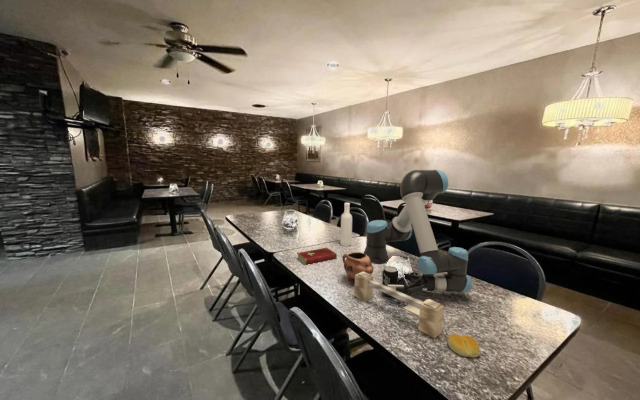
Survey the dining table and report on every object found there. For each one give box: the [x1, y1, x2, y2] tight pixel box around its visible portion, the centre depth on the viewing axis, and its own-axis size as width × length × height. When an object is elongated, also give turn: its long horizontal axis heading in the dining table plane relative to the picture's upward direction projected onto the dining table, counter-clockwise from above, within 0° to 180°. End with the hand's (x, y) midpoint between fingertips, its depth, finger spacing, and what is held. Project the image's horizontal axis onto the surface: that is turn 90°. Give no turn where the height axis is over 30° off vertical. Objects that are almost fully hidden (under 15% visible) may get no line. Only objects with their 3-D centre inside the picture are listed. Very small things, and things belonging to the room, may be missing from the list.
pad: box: [403, 298, 425, 317], centre depth 104 cm, size 11×11×1 cm
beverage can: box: [381, 265, 399, 298], centre depth 115 cm, size 7×7×12 cm
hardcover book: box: [296, 247, 338, 266], centre depth 156 cm, size 12×21×4 cm, turn 119°
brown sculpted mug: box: [342, 251, 375, 286], centre depth 127 cm, size 20×12×14 cm, turn 43°
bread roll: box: [447, 333, 481, 359], centre depth 83 cm, size 8×9×4 cm
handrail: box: [353, 271, 445, 339], centre depth 101 cm, size 36×5×11 cm, turn 41°
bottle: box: [340, 202, 353, 247], centre depth 180 cm, size 8×8×30 cm
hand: (384, 280), depth 115 cm, fingers open, 13 cm apart
